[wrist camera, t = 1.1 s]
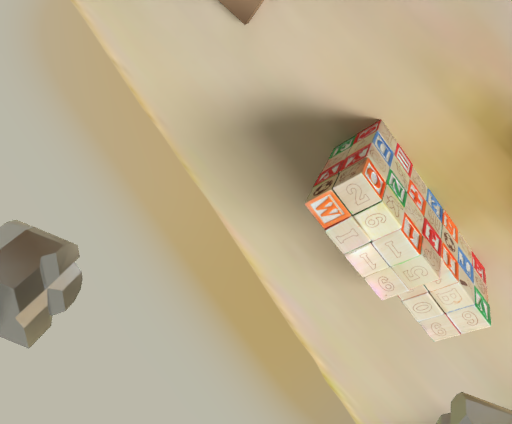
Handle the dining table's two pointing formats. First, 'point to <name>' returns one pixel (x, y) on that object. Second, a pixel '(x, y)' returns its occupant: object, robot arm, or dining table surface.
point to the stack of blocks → (399, 234)
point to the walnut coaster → (242, 8)
